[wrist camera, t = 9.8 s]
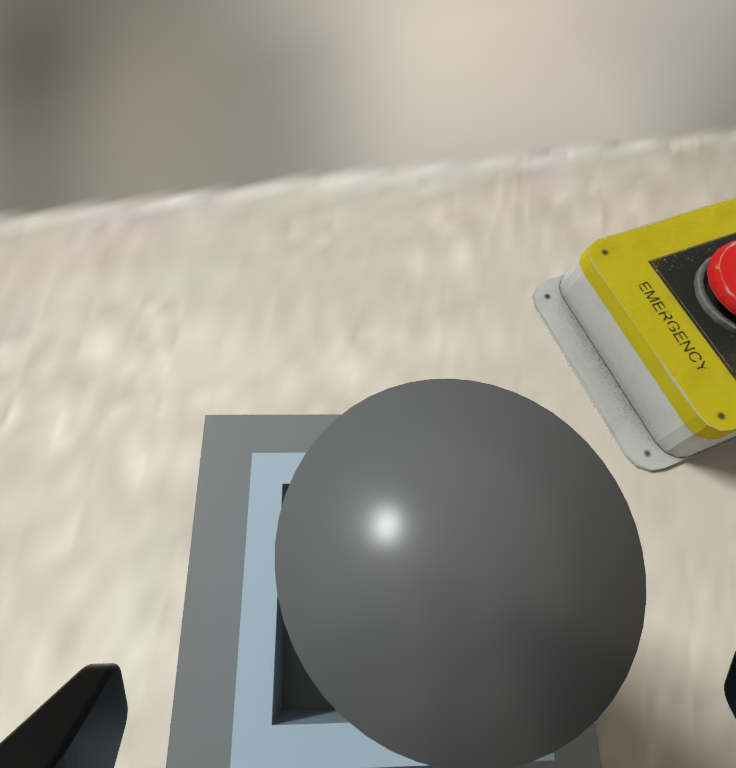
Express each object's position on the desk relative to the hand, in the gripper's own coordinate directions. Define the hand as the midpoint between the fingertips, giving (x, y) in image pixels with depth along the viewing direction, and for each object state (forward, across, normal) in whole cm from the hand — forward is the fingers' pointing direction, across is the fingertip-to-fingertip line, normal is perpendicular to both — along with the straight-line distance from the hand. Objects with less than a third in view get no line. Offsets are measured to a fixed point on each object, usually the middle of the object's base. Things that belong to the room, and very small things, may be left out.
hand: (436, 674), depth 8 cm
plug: (+8, 0, +6) cm, 10 cm away
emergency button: (+17, -16, -1) cm, 23 cm away
